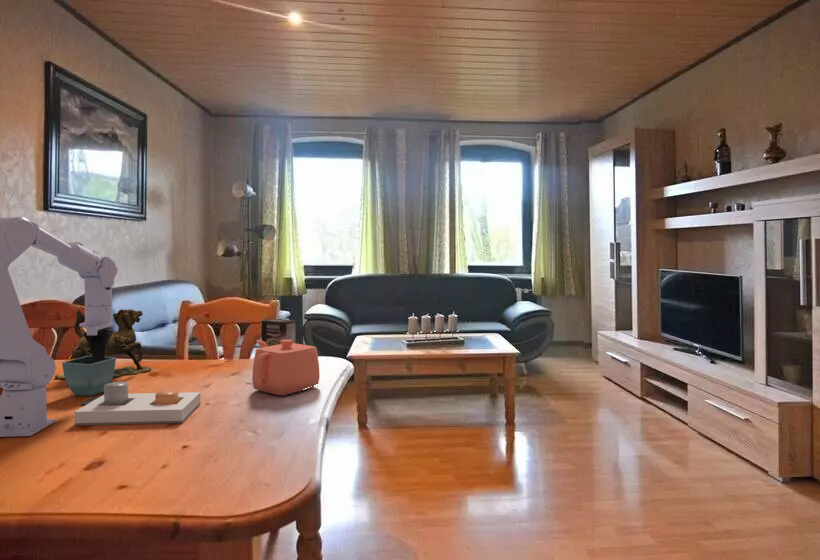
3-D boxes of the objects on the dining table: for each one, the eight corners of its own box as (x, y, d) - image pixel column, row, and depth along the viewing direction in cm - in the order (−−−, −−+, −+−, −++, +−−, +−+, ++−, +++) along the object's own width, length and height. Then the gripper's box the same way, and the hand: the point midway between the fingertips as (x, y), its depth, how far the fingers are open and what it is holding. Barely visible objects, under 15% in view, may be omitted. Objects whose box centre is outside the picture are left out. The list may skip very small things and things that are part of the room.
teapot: (283, 376, 156) (283, 331, 156) (329, 386, 145) (329, 338, 145) (226, 389, 140) (226, 339, 139) (273, 402, 129) (273, 348, 128)
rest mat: (107, 405, 124) (107, 403, 124) (80, 405, 123) (80, 403, 123) (118, 398, 130) (118, 396, 130) (92, 398, 129) (92, 397, 129)
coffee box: (260, 371, 163) (260, 320, 162) (271, 366, 169) (271, 318, 168) (285, 373, 160) (285, 322, 159) (296, 369, 166) (296, 319, 165)
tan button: (174, 413, 116) (174, 395, 116) (152, 413, 116) (152, 396, 115) (181, 407, 121) (181, 390, 121) (159, 407, 120) (159, 390, 120)
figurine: (151, 375, 155) (151, 308, 154) (51, 383, 143) (50, 311, 142) (150, 366, 166) (150, 304, 165) (58, 374, 155) (56, 307, 154)
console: (182, 423, 112) (182, 409, 112) (74, 425, 109) (74, 411, 109) (200, 404, 126) (200, 392, 126) (105, 406, 123) (105, 393, 123)
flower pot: (90, 399, 129) (90, 364, 128) (61, 396, 130) (60, 362, 130) (117, 390, 137) (116, 357, 137) (89, 388, 139) (88, 355, 139)
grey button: (123, 404, 115) (122, 387, 114) (100, 405, 114) (99, 387, 114) (131, 398, 119) (131, 381, 119) (110, 399, 119) (109, 382, 119)
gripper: (87, 302, 131) (88, 355, 132) (71, 308, 117) (72, 367, 118) (118, 302, 133) (119, 354, 134) (106, 308, 120) (106, 365, 120)
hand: (99, 360), depth 126 cm, fingers closed
